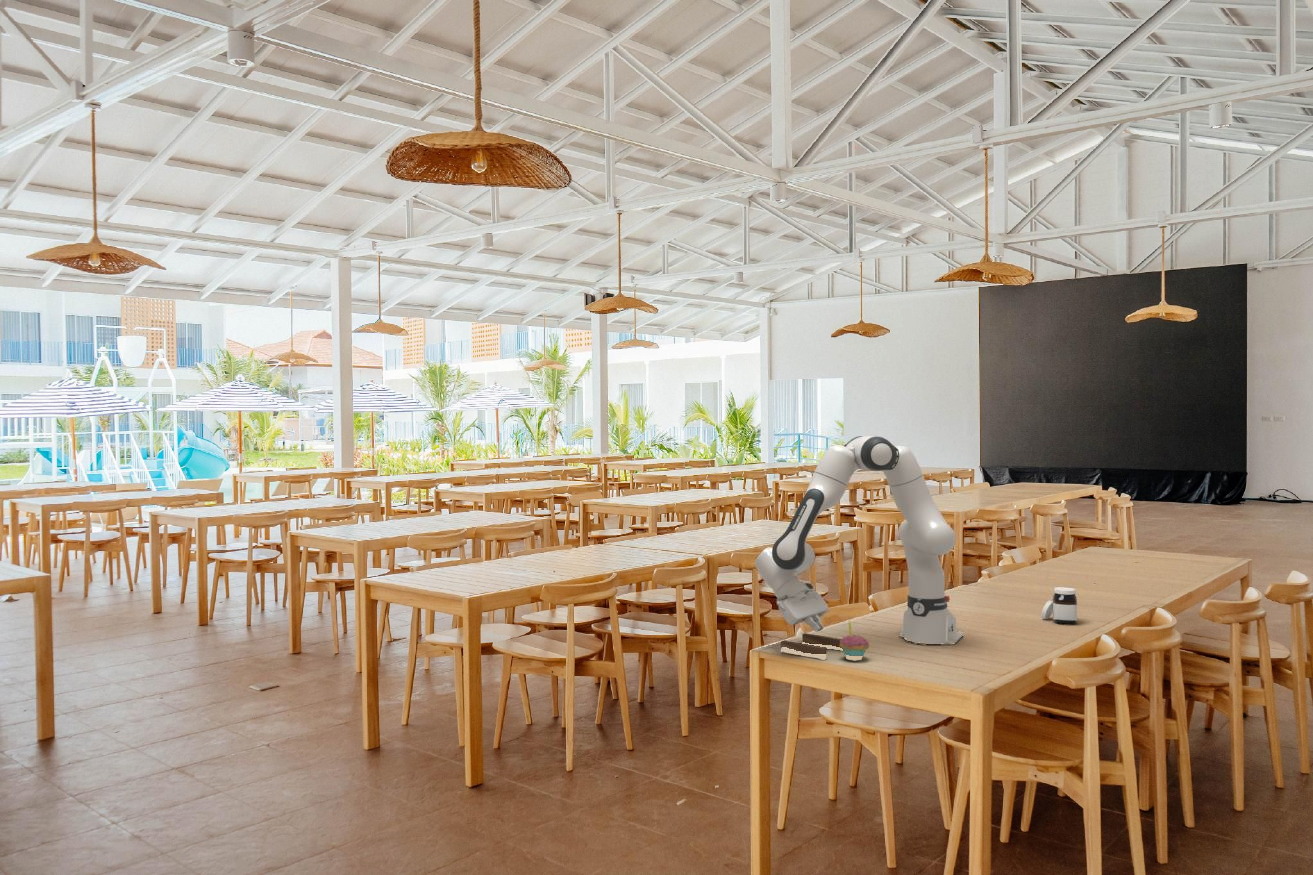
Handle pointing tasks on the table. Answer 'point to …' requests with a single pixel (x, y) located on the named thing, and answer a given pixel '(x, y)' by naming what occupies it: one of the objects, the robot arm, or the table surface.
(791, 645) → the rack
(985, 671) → the table surface
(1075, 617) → the spread jar
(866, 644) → the cupcake
